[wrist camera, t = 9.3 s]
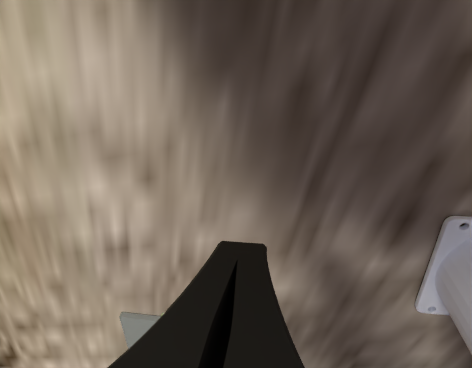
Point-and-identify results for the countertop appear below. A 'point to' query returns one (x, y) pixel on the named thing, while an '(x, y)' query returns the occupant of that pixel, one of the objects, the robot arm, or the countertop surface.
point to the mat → (136, 325)
